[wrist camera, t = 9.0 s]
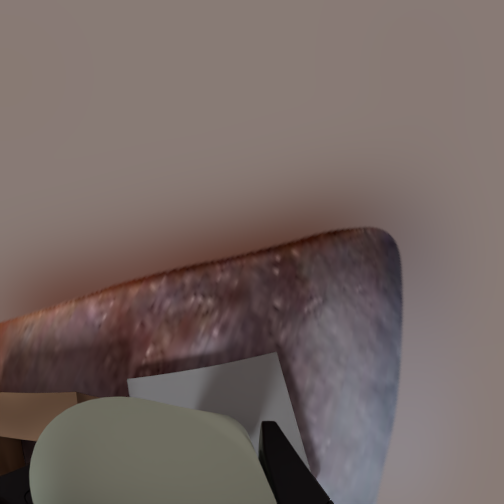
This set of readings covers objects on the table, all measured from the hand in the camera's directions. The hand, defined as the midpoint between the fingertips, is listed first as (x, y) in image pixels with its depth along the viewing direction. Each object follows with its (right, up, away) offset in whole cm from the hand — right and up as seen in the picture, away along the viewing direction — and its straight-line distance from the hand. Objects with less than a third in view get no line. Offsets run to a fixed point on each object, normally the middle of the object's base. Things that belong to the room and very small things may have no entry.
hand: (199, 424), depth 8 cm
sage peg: (0, -5, +5) cm, 7 cm away
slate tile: (0, -6, +7) cm, 9 cm away
